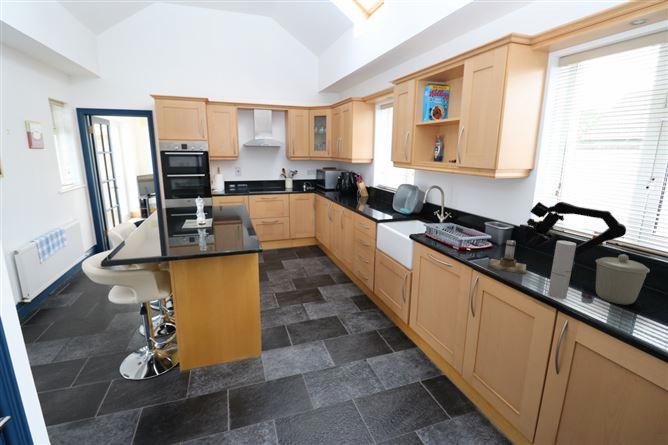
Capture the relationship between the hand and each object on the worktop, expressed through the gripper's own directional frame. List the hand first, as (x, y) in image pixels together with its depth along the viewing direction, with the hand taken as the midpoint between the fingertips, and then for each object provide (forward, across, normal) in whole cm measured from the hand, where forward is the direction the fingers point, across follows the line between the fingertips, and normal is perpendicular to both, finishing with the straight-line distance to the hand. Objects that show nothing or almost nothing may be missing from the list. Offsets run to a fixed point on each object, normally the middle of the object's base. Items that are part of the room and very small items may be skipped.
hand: (529, 245), depth 182 cm
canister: (-5, -5, +44) cm, 45 cm away
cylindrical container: (+4, +15, +35) cm, 38 cm away
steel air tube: (+15, +6, +1) cm, 16 cm away
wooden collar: (+15, +6, +1) cm, 16 cm away
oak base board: (+16, +5, +1) cm, 17 cm away
